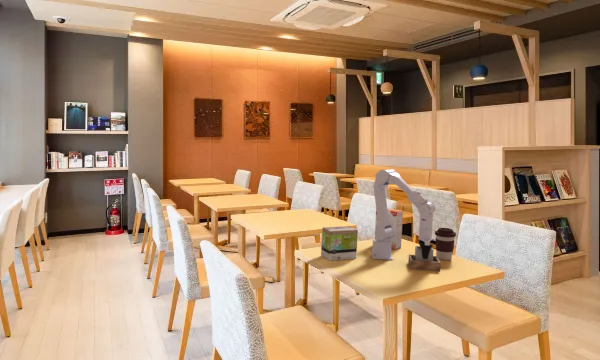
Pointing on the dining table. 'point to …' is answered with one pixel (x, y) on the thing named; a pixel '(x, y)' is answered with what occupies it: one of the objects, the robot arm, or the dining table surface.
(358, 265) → the dining table surface
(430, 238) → the robot arm
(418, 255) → the grey crate
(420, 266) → the walnut crate
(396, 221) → the cracker box
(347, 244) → the tea box
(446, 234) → the coffee cup
